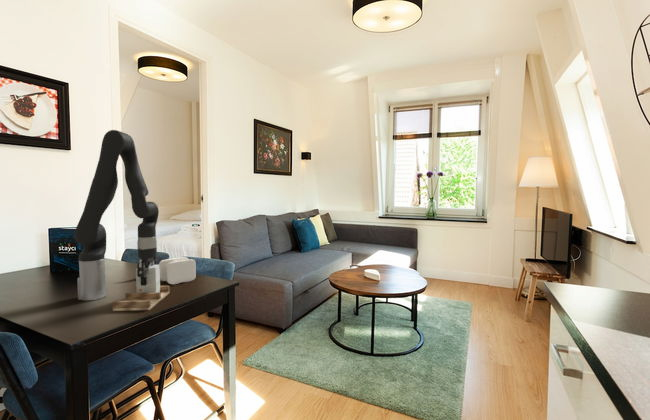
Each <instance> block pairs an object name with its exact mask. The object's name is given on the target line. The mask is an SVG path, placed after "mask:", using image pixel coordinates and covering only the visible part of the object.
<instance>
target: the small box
mask: <svg viewBox="0 0 650 420" xmlns="http://www.w3.org/2000/svg"><path fill="white" fill-rule="evenodd" d="M146 269H147V268H145V270H146ZM146 277H147V285H145V286H141V278H140V277H137V267H136V268H135V281H136V282H135V285H136V286H135V288H136V289H135V290H136V292H137V293H155V292H160V286H161V280H160V270H159V264H157V265H152V266H150V268H149V272H147V276H146Z"/></svg>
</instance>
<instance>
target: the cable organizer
mask: <svg viewBox="0 0 650 420" xmlns="http://www.w3.org/2000/svg"><path fill="white" fill-rule="evenodd" d="M158 265H159V270H160V281H162V282H166V283H168V284H170V285H178V284H181V283H189V282H192V281H194V280H195V279H196V277H197V276H196V271H197V270H196V269H197V267H196V265H197V264H196V260H195V259H192V258H190V259H189V258H188V257H186V256H182V257H175V258H168V259H167V258H166V259H162V260H160V261H159V263H158Z"/></svg>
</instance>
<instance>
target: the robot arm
mask: <svg viewBox="0 0 650 420" xmlns="http://www.w3.org/2000/svg"><path fill="white" fill-rule="evenodd" d="M101 141H102V142H101V146H100V153H99V158H98V162H97V165H96V169H95V173H94V175H93V179H92V182H91V185H90V188H89V192H88V196H87V198H86V201H85V204H84V208H83V211H82V213H81V217H80V219H79V221H78V223H77V225H76V227H75V230H74V235H73V237H74V240H75V242H76V243H77V244H78V245H80V246H83V247H82V249H81V252H80V253H79V255H78V267H79V271H78V272H79V276H78V278H77V299H78V300H79V301H96V300H100V299H103V298H105V297H106V296H107V295H106V294H107V293H106V292H107V289H106V264H105V263H106V261H105V254H106V251H107V232H106V228H105V227H104V225H103V224H102V223H101V219H102V217H103V215H104V213H105V211H107V209H108V208H109V206H110V205H111V203H112V201H113V200H114V198H115V195H116V193H117V192H116V191H117V189H118V185H119V179H118V177H119V176H118V171H117V166H118V165H117V164H118V160H119V157H120V158H121V159H122V162H123V165H124V166H123V167H124V180H125V183H126V186H127V189H128V192H129V194H130V200H131V209H132V211H133V213H134V215H135V216H136V217H137V218H139V219H142V222H141V223H139V224H138V225H137V242H136V243H137V245H136V246H137V258H138V259H140V260H141V263H140V262H137V266H136V268H137V277H140V278H141V286H145V285H147V277H146V276H147V272H149V268H150V266H152V265H158V256H157V255H158V248H157V247H158V246H157V245H158V244H157V234H156V233H157V232H156V230H157V229H156V226H157V224H158V219H159V212H160V211H159V207H158V204H157V203H156V202H155V201H147V199H146V196H148V195H149V190H148V187H147V184H146V181H145V179H144V177H143V173H142V171H141V167H140V164H139V159H138V153H137V150H136V145H135V142H134V138H133V137H132V136H131V135H130V134H128V133H125V132H123V131H120V130H117V129H109V130H108V131H107V132H105V134H104V136H103V138H102V140H101ZM145 268H147V269H146V270H145Z"/></svg>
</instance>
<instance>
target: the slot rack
mask: <svg viewBox="0 0 650 420" xmlns="http://www.w3.org/2000/svg"><path fill="white" fill-rule="evenodd" d="M170 290H171V289H170V285H160V292H155V293H137V291H136V292H126V293H125V299H124V300H114V301H112V311H113V312H115V311H116V312H118V311H120V312H121V311H123V312H124V311H150V310H152V308H154V307H155V306H156V305H157V304H158V303H159V302H161V301H162V300H163V299H164V298H166V297H167V296H168V295H169V294H170V293H171V292H170Z"/></svg>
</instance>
